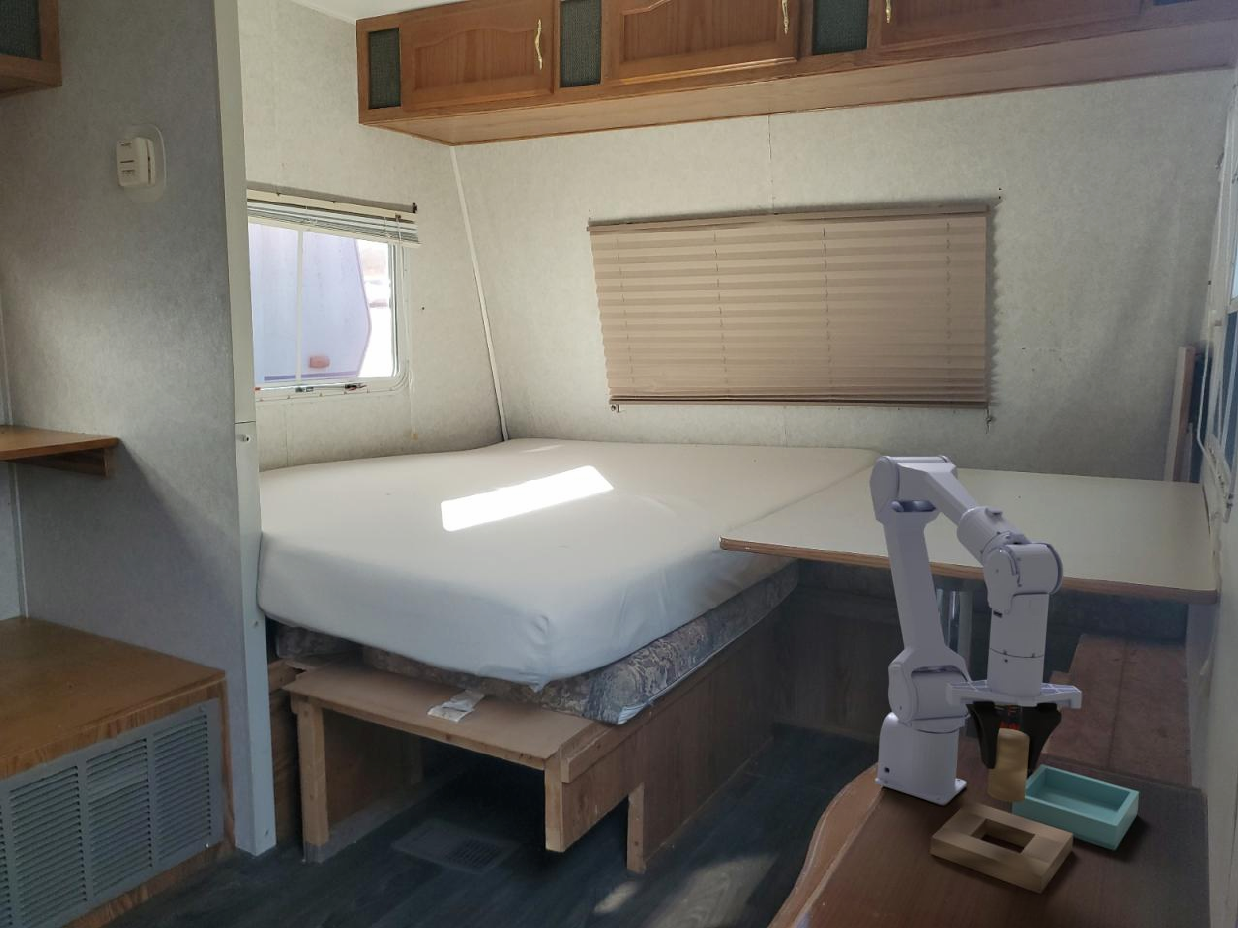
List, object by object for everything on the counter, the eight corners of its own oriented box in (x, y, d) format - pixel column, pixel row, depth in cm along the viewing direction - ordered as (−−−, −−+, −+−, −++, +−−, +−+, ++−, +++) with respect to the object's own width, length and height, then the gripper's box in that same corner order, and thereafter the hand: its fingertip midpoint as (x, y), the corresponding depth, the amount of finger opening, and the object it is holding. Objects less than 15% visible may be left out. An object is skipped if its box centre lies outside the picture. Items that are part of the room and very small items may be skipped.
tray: (1011, 817, 116) (1013, 794, 116) (1039, 785, 125) (1041, 763, 125) (1114, 850, 109) (1116, 826, 108) (1137, 814, 118) (1139, 791, 117)
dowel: (994, 801, 105) (999, 741, 104) (982, 785, 109) (986, 727, 108) (1030, 802, 105) (1035, 743, 104) (1016, 786, 109) (1021, 728, 108)
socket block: (930, 853, 107) (931, 836, 107) (968, 815, 116) (969, 800, 116) (1040, 893, 100) (1042, 876, 99) (1071, 849, 109) (1073, 833, 109)
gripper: (964, 659, 101) (956, 779, 103) (1099, 662, 101) (1089, 782, 103) (942, 639, 108) (935, 752, 110) (1068, 642, 108) (1059, 755, 110)
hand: (1007, 765), depth 107 cm, fingers closed on dowel, 4 cm apart
